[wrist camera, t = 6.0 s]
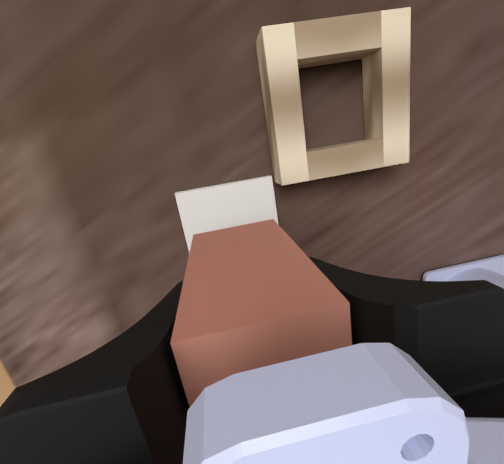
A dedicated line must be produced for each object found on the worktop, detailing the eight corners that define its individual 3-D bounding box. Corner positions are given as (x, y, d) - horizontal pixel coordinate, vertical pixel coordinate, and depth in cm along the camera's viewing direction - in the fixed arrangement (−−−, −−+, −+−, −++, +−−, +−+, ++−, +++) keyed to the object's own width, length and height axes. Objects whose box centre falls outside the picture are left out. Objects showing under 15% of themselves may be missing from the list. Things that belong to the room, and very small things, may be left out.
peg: (283, 289, 15) (357, 432, 7) (210, 305, 15) (209, 472, 7) (273, 218, 14) (349, 302, 6) (193, 234, 13) (170, 343, 6)
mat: (282, 266, 21) (284, 270, 21) (198, 284, 21) (198, 288, 20) (269, 175, 19) (271, 176, 19) (175, 192, 19) (174, 193, 18)
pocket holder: (388, 161, 20) (409, 162, 18) (274, 181, 19) (282, 185, 17) (386, 24, 17) (410, 7, 15) (255, 42, 17) (261, 26, 15)
